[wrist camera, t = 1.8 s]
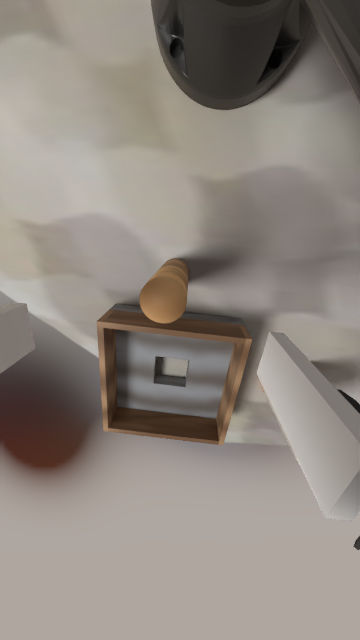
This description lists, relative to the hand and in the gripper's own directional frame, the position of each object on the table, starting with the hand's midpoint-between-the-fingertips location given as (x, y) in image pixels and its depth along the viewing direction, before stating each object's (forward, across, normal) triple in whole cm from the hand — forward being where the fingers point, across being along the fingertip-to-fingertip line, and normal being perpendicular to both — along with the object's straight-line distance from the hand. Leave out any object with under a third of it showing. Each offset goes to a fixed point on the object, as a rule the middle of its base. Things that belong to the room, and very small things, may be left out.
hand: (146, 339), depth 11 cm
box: (+20, +1, -16) cm, 26 cm away
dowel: (+20, 0, 0) cm, 21 cm away
